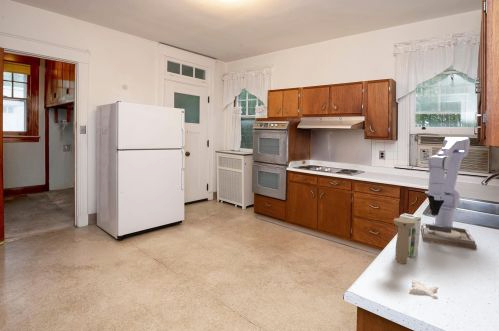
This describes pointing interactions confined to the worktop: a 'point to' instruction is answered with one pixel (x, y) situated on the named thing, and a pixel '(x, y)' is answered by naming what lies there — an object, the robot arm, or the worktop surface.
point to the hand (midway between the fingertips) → (433, 212)
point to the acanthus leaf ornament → (423, 289)
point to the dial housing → (463, 241)
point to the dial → (444, 231)
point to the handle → (403, 239)
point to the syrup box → (413, 233)
